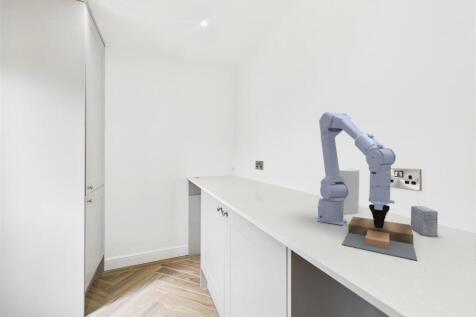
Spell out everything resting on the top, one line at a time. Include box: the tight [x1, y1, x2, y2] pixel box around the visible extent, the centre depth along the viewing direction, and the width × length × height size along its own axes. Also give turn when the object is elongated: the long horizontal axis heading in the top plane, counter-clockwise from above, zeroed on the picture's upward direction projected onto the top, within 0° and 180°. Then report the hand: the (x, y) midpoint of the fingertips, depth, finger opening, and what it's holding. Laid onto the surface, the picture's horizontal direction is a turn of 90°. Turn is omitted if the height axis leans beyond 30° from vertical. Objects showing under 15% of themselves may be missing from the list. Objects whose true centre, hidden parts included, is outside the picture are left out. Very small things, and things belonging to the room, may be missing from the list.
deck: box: [347, 216, 414, 246], centre depth 80 cm, size 18×12×3 cm, turn 56°
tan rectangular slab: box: [365, 230, 389, 249], centre depth 71 cm, size 6×9×2 cm, turn 147°
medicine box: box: [410, 205, 439, 238], centre depth 81 cm, size 8×4×9 cm, turn 168°
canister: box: [330, 168, 360, 215], centre depth 111 cm, size 14×14×20 cm
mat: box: [341, 232, 418, 262], centre depth 69 cm, size 18×12×1 cm, turn 56°
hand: (378, 227), depth 74 cm, fingers closed
